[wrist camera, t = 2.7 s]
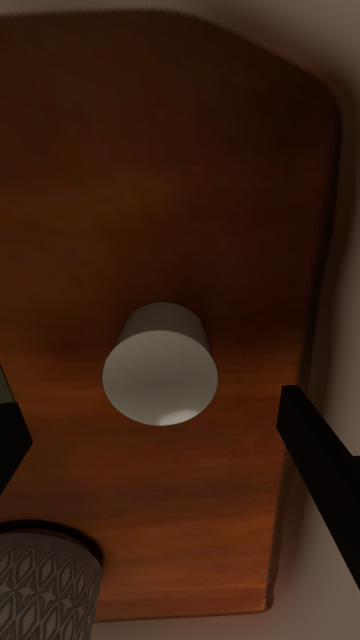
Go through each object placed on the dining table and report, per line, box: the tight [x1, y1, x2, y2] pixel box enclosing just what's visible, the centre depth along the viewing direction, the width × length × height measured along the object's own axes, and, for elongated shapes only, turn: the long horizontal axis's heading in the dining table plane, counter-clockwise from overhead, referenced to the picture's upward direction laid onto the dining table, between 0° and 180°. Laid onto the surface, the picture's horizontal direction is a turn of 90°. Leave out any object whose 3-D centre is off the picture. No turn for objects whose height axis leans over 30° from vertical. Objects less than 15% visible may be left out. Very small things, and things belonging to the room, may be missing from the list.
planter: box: [0, 528, 103, 640], centre depth 25 cm, size 16×16×13 cm
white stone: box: [102, 302, 218, 426], centre depth 17 cm, size 7×7×5 cm
